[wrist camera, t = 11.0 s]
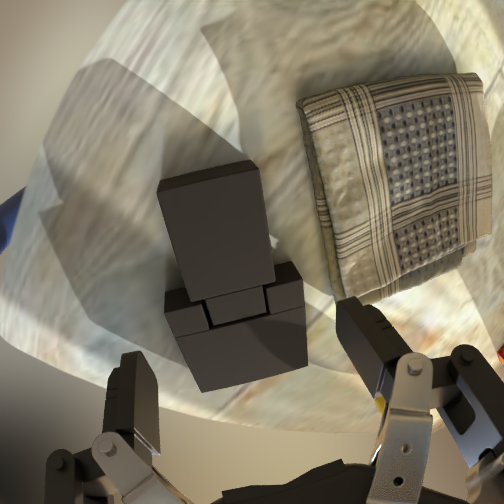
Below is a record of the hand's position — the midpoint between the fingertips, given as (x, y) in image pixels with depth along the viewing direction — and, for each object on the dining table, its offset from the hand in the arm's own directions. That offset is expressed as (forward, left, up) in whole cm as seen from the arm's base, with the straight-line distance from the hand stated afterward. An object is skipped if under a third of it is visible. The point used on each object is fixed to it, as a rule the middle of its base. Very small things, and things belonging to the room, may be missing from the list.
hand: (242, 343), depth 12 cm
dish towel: (+16, 0, -11) cm, 20 cm away
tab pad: (0, -1, -11) cm, 11 cm away
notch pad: (0, -9, -11) cm, 14 cm away
